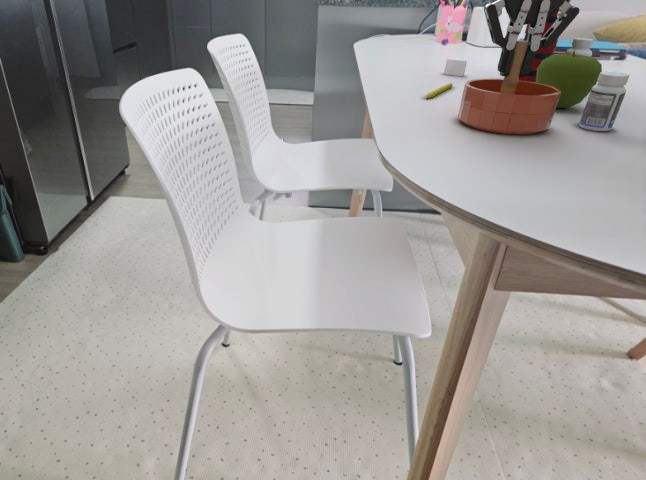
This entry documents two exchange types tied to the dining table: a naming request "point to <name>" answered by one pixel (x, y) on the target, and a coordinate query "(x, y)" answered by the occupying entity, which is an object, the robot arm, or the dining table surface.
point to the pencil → (439, 90)
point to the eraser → (455, 67)
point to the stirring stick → (515, 67)
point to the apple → (569, 76)
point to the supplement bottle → (581, 47)
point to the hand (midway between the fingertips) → (512, 75)
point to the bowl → (508, 106)
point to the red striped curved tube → (542, 52)
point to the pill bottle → (604, 101)
